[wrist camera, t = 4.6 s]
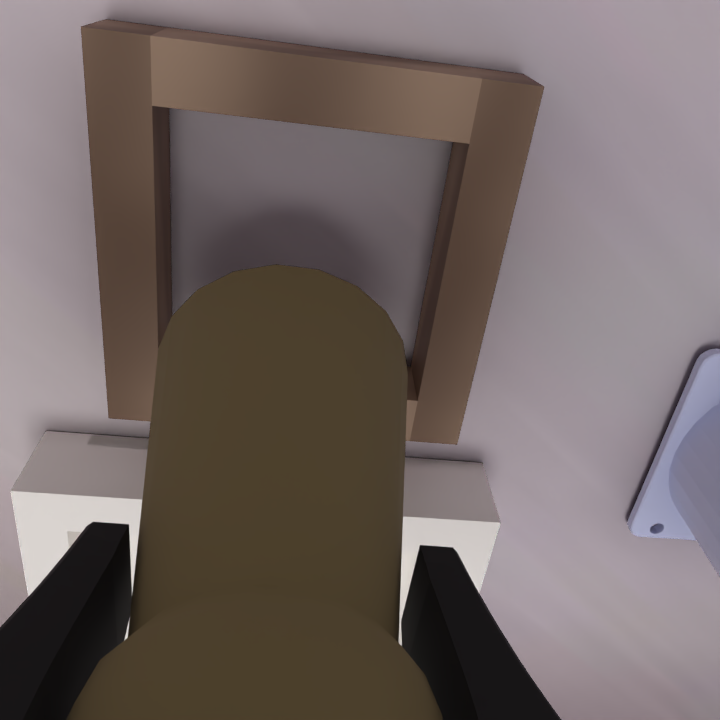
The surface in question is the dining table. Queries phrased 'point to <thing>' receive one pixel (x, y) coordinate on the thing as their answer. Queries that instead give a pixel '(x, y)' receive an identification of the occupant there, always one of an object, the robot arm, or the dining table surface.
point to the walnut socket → (313, 107)
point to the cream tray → (125, 492)
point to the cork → (270, 514)
